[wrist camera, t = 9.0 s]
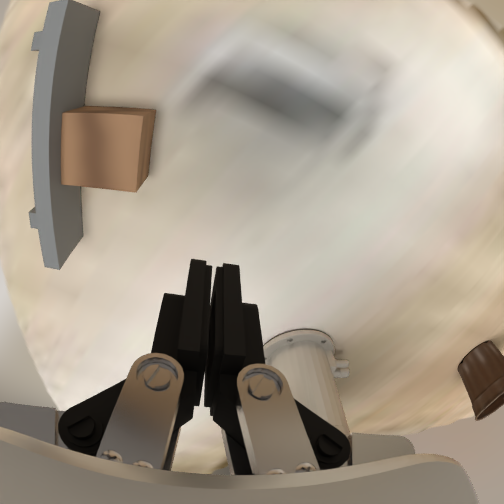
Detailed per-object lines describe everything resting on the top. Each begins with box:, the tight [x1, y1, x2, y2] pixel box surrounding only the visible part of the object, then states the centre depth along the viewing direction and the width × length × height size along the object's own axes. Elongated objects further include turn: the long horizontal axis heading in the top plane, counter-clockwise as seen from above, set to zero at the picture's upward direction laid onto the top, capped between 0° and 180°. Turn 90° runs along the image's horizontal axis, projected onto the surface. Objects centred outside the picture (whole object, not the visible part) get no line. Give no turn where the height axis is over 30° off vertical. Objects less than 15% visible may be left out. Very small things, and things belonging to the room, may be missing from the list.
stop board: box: [29, 0, 100, 270], centre depth 22 cm, size 6×26×7 cm, turn 168°
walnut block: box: [61, 106, 156, 192], centre depth 25 cm, size 8×7×5 cm
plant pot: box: [458, 341, 504, 421], centre depth 52 cm, size 16×16×16 cm
